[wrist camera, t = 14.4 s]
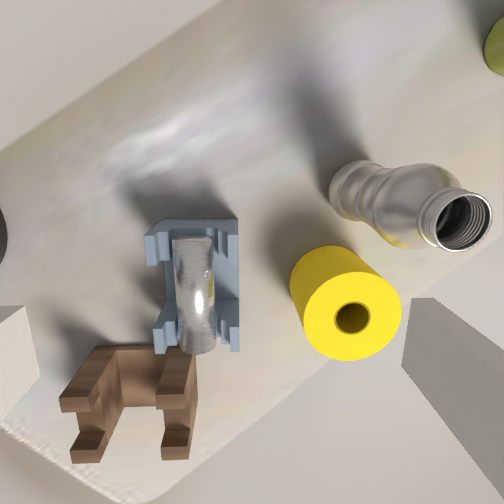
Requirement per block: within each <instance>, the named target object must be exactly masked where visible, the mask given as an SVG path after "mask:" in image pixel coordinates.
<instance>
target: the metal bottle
mask: <svg viewBox="0 0 504 504" xmlns="http://www.w3.org/2000/svg"><path fill="white" fill-rule="evenodd" d="M329 199H330V203H331V205H332V207H333V208H334V210H335V211H336V212H337V214H339V215H340V216H341V217H343V218H345V219H348V220H352V221H362V222H365V223H367V224H368V225H370V226H371V227H372V228H373V229H374V230H375V231H376V232H377V233H378V234H379V235H380V236H381V237H382V238H383V239H384V240H386V241H387V242H388V243H389V244H391V245H393V246H395V247H398V248H402V249H424V248H428V247H431V246H435V247H439V248H442V249H444V250H446V251H451V252H461V251H465V250H468V249H470V248H472V247H474V246H475V245H477V244H478V243H479V242H480V241H481V240H482V239H483V238H484V237H485V236H486V234H487V233H488V231H489V229H490V226H491V223H492V209H491V206H490V204H489V202H488V201H487V200H486V199H485V198H484V197H482V196H481V195H479V194H476V193H473V192H469V191H467V190H464V189H462V186H461V184H460V183H459V181H458V179H457V178H456V177H455V176H454V175H453V174H451V173H450V172H448V171H447V170H445V169H444V168H442V167H440V166H437V165H434V164H425V163H424V164H414V165H408V166H404V167H399V168H384V167H382V166H381V165H379V164H377V163H375V162H372V161H368V160H359V161H355V162H352V163H349V164H347V165H345V166H344V167H342V168H341V169H340V170H339V171H338V172H337V173H336V174H335V175H334V177H333V179H332V180H331V183H330V186H329Z"/></svg>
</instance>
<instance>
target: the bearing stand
mask: <svg viewBox="0 0 504 504" xmlns="http://www.w3.org/2000/svg"><path fill="white" fill-rule="evenodd" d="M59 402H60V407H61V412H62V413H65V412H76V415H77V420H78V425H79V430H80V433H79V435H78V437H77V438H76V440H75V442H74V444H73V446H72V447H71V449H70V455H71V460H72V464H81V463H100V460H101V458H102V456H103V454H104V451H105V449H106V447H107V445H108V442H109V440H110V438H111V436H112V433H113V431H114V429H115V427H116V424H117V422H118V420H119V418H120V415H121V413H122V411H123V409H124V407H140V406H156V409H157V410H158V409H163V412H164V422H165V432H164V436H163V440H162V444H161V457H162V460H185V459H189V452H190V446H191V440H192V434H193V427H194V421H195V415H196V408H197V402H198V392H197V375H196V358H195V355H193V354H187V353H185V352H183V351H182V350H181V349H180V345H179V344H178V345H177V346H167V349H166V351H165V354H155V347H154V345H137V346H96V347H95V348H94V350H93V351H92V353H91V354H90V355H89V357H88V358H87V359H86V361H85V362H84V364H83V365H82V366H81V368H80V369H79V370H78V372H77V373H76V375H75V376H74V377H73V379H72V380H71V381H70V383H69V384H68V386H67V387H66V388H65V390H64V391H63V392H62V394H61V395H60V397H59Z"/></svg>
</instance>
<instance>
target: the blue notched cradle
mask: <svg viewBox="0 0 504 504" xmlns="http://www.w3.org/2000/svg"><path fill="white" fill-rule="evenodd" d="M190 233H201V234H208V235H211V236H212V237H213V261H214V289H215V318H216V337H221V343H222V344H230V352H239V271H238V219H162V220H161V221H159V222H158V223H157V224H156V225H155V226H154V227H153V228H152V229H150V230H149V231H148V232H147V233H146V234H145V235H144V236H143V237H144V247H145V257H146V266H148V265H157V264H158V263H159V261H163V263H164V275H165V287H166V299H167V300H166V302H165V304H164V306H163V309H162V311H161V313H160V315H159V317H158V319H157V321H156V323H155V325H154V327H153V337H154V347H155V354H165V351H166V349H167V346H177V343H178V339H179V332H178V318H177V304H176V290H175V277H174V263H173V249H172V238H173V237H175V236H178V235H182V234H190Z"/></svg>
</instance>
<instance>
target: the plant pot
mask: <svg viewBox="0 0 504 504" xmlns="http://www.w3.org/2000/svg"><path fill="white" fill-rule="evenodd" d="M484 54H485V60H486V62H487V65H488V67H489V68H490V69H491V70H492V71H494V72H496V73H498V74H500V75H502V76H504V16H503V17H501V18H500V19H499V20H498V21H497V22H496V23H495V24H494V26H493V28H492V30H491V32H490V34H489V35H488V37H487V39H486V42H485V48H484Z"/></svg>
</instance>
